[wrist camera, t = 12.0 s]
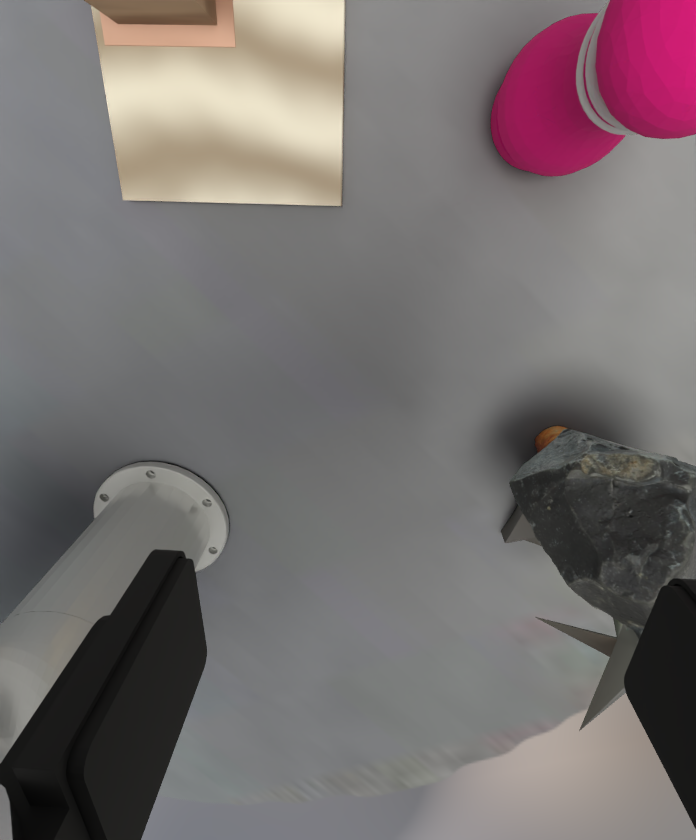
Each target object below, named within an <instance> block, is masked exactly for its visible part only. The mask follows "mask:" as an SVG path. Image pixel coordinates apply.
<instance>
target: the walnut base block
mask: <svg viewBox="0 0 696 840" xmlns="http://www.w3.org/2000/svg"><path fill="white" fill-rule="evenodd" d="M84 1H86V2H87V3H89V4H90V5H92V6H93V7H94V8H96V9H97V10H99V11H100V12H101V13H103V14H104V15H106V16H107V17H109V18H110V19H111V20H113V21H114V22H116V23H117V24H145V25H217V14H216V0H84Z"/></svg>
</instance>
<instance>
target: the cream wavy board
mask: <svg viewBox="0 0 696 840" xmlns="http://www.w3.org/2000/svg"><path fill="white" fill-rule="evenodd" d="M91 8H92V14H93V20H94V26H95V32H96V38H97V44H98V50H99V57H100V63H101V69H102V75H103V81H104V87H105V93H106V99H107V105H108V111H109V117H110V123H111V129H112V136H113V142H114V148H115V154H116V160H117V166H118V172H119V178H120V184H121V190H122V196H123V200H138V201H175V202H212V203H249V204H286V205H323V206H342V175H343V117H344V58H345V0H216V14H217V25H145V24H117V23H116V22H114V21H113V20H111V19H110V18H109V17H107V16H106V15H104V14H103V13H101V12H100V11H99V10H97V9H96V8H94V7H93V6H92V5H91Z"/></svg>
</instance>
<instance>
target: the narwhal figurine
mask: <svg viewBox="0 0 696 840" xmlns="http://www.w3.org/2000/svg"><path fill="white" fill-rule="evenodd" d="M535 447H536V448H537V454H536V455H535V456H533V457H532V458H531V459H530V460H529V461H527V462H526V463H524V464H523V465H522V466H521V467H520V469H519V470H518V471H517V473H516V474H515V475H514V477H513V478H512V479H511V480H510V483H509V484H510V487H511V489H512V493H513V494H514V497H515V499H516V502H517V504H518V506H517V508H516V510H515V511H514V513H513V514H512V516H511V517H510V519H509V520H508V522H507V523H506V525H505V526H504V528H503V529H502V531H501V533H502V536H503V539H504V542H505V543H510V542H515V541H520V540H526V541H529V542H532V543H535V544H538V545H540V546H542V547H543V549H544V551H545V552H546V553H547V554H548V555H549V556H550V558H551V559H552V561H553V563H554V564H555V565H556V567H557V569H558V570H559V572H560V575H561V576H562V577H563V579H564V580H565V582H566V584H567V585H568V586H569V587H570V588H571V589H572V590H573V591H574V592H575V593H576V594H578V595H579V596H581V597H582V598H583V599H584V600H585V601H587V602H588V603H589V604H590V605H591V606H593V607H594V608H596V609H599V610H602V611H604V612H606V613H607V614H609V615H611V616H612V617H613V619H614V625H615V630H616V635H617V637H613V636H609V635H605V634H601V633H597V632H593V631H589V630H585V629H581V628H577V627H573V626H569V625H565V624H561V623H557V622H553V621H549V620H545V619H541V618H538V619H540V620H541V621H543V622H545V623H547V624H549V625H551V626H553V627H555V628H556V629H558V630H560V631H562V632H564V633H566V634H568V635H570V636H572V637H573V638H575V639H577V640H579V641H581V642H583V643H585V644H587V645H588V646H590V647H592V648H594V649H596V650H598V651H600V652H602V653H603V654H605V655H607V656H609V657H610V658H609V661H608V663H607V666H606V668H605V670H604V673H603V675H602V678H601V680H600V682H599V685H598V687H597V690H596V692H595V694H594V697H593V699H592V701H591V704H590V706H589V709H588V711H587V713H586V716H585V718H584V721H583V723H582V726H581V728H580V730H581V729H582V728H583V727H585V726H586V725H587V724H588V723H589V722H591V721H592V720H593V719H594V718H595V717H597V716H598V715H599V714H600V713H601V712H603V711H604V710H605V709H606V708H608V707H609V706H610V705H611V704H612V703H614V702H615V701H616V700H617V699H618V698H620V697H621V696H622V695H623V694H624V693H626V691H625V687H624V676H625V673H626V670H627V668H628V666H629V663H630V661H631V658H632V656H633V653H634V651H635V649H636V646H637V644H638V641H639V639H640V637H641V634H642V632H643V629H644V627H645V625H646V622H647V620H648V617H649V615H650V613H651V610H652V608H653V605H654V603H655V600H656V598H657V596H658V593H659V591H660V589H661V587H663V586H664V585H668V583H669V581H670V580H672V579H674V578H680V579H696V467H695V466H693V465H690V464H687V463H685V462H681V461H678V460H677V459H676V458H674V457H670V456H667V455H661V454H657V453H652V452H648V451H644V450H640V449H636V448H632V447H628V446H624V445H621V444H618V443H614V442H611V441H608V440H604V439H601V438H598V437H595V436H593V435H589V434H587V433H582V432H579V431H576V430H572V429H568V428H565V427H561V426H553V427H550V428H548V429H545V430H543V431H542V432H541V433H540V434H539V435H538V436H537V437H536V438H535ZM536 618H537V617H536Z"/></svg>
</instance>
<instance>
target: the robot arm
mask: <svg viewBox="0 0 696 840" xmlns="http://www.w3.org/2000/svg"><path fill="white" fill-rule="evenodd" d="M93 508H94V521H93V522H92V523H91V524H90V525H89V526H88V527H87V528H86V530H85V531H84V532H83V533H82V534H81V535H80V536H79V537H78V539H77V540H76V541H75V542H74V543H73V544H72V545H71V546H70V547H69V549H68V550H67V551H66V552H65V553H64V554H63V555H62V556H61V558H60V559H59V560H58V561H57V562H56V563H55V564H54V565H53V567H52V568H51V569H50V570H49V571H48V572H47V573H46V574H45V576H44V577H43V578H42V579H41V580H40V581H39V582H38V583H37V585H36V586H35V587H34V588H33V589H32V590H31V591H30V592H29V593H28V595H27V596H26V597H25V598H24V599H23V600H22V601H21V602H20V604H19V605H18V606H17V607H16V608H15V609H14V610H13V611H12V613H11V614H10V615H9V616H8V617H7V618H6V619H5V620H4V622H3V623H2V624H1V625H0V840H141V838H142V835H143V832H144V830H145V827H146V824H147V822H148V819H149V816H150V813H151V811H152V808H153V805H154V803H155V800H156V797H157V794H158V792H159V789H160V786H161V784H162V781H163V778H164V775H165V773H166V770H167V767H168V765H169V762H170V759H171V756H172V754H173V751H174V748H175V746H176V743H177V740H178V737H179V735H180V732H181V729H182V727H183V724H184V721H185V718H186V716H187V713H188V710H189V708H190V705H191V702H192V699H193V697H194V694H195V691H196V689H197V686H198V683H199V680H200V678H201V675H202V672H203V670H204V666H205V662H206V657H207V646H206V640H205V633H204V627H203V620H202V613H201V607H200V600H199V594H198V587H197V580H196V574H195V572H197V571H199V570H202V569H204V568H206V567H207V566H209V565H210V564H212V563H213V562H214V561H215V560H216V559H217V558H218V557H219V556H220V554H221V552H222V550H223V548H224V546H225V544H226V541H227V539H228V534H229V519H228V515H227V512H226V509H225V506H224V504H223V503H222V501H221V499H220V497H219V496H218V495H217V494H216V492H215V491H214V490H213V489H212V488H211V487H210V486H209V485H208V484H207V483H206V482H205V481H203V480H202V479H201V478H199V477H198V476H196V475H195V474H193V473H191V472H190V471H187V470H185V469H183V468H180V467H178V466H175V465H171V464H167V463H161V462H138V463H134V464H131V465H127V466H125V467H123V468H121V469H119V470H117V471H115V472H114V473H113V474H112V475H111V476H110V477H108V478H107V480H106V481H105V482H104V483H103V484H102V485H101V486H100V488H99V490H98V491H97V493H96V496H95V500H94V505H93ZM624 687H625V691H626V694H627V696H628V698H629V700H630V702H631V704H632V706H633V708H634V710H635V712H636V714H637V716H638V718H639V719H640V722H641V723H642V725H643V727H644V729H645V731H646V733H647V735H648V737H649V739H650V741H651V743H652V745H653V747H654V749H655V751H656V753H657V755H658V756H659V758H660V760H661V762H662V764H663V766H664V768H665V770H666V772H667V774H668V776H669V778H670V780H671V782H672V783H673V786H674V788H675V789H676V792H677V793H678V795H679V797H680V799H681V801H682V803H683V805H684V807H685V809H686V811H687V813H688V815H689V817H690V819H691V821H692V823H693V825H694V827H695V828H696V579H680V578H674V579H672V580H670V581H669V583H668V585H664V586H663V587H661V589H660V591H659V593H658V596H657V598H656V600H655V603H654V605H653V608H652V610H651V613H650V615H649V617H648V620H647V622H646V625H645V627H644V629H643V632H642V634H641V637H640V639H639V641H638V644H637V646H636V649H635V651H634V653H633V656H632V658H631V661H630V663H629V666H628V668H627V670H626V673H625V676H624Z"/></svg>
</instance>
